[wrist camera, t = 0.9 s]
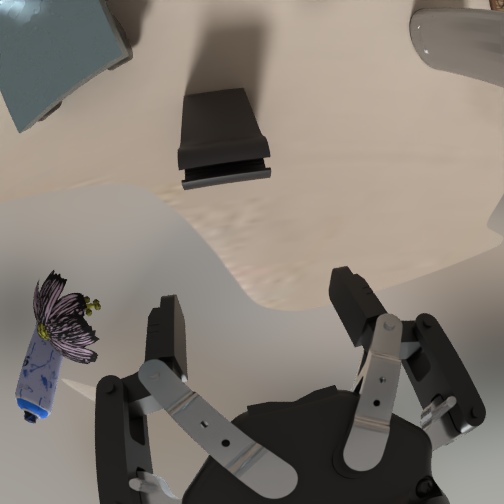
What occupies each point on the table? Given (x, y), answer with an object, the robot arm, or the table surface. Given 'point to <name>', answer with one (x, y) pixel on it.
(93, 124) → the table surface
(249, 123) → the triangular clip stand
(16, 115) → the trolley
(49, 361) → the aerosol can
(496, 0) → the trivet
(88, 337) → the decorative flower
